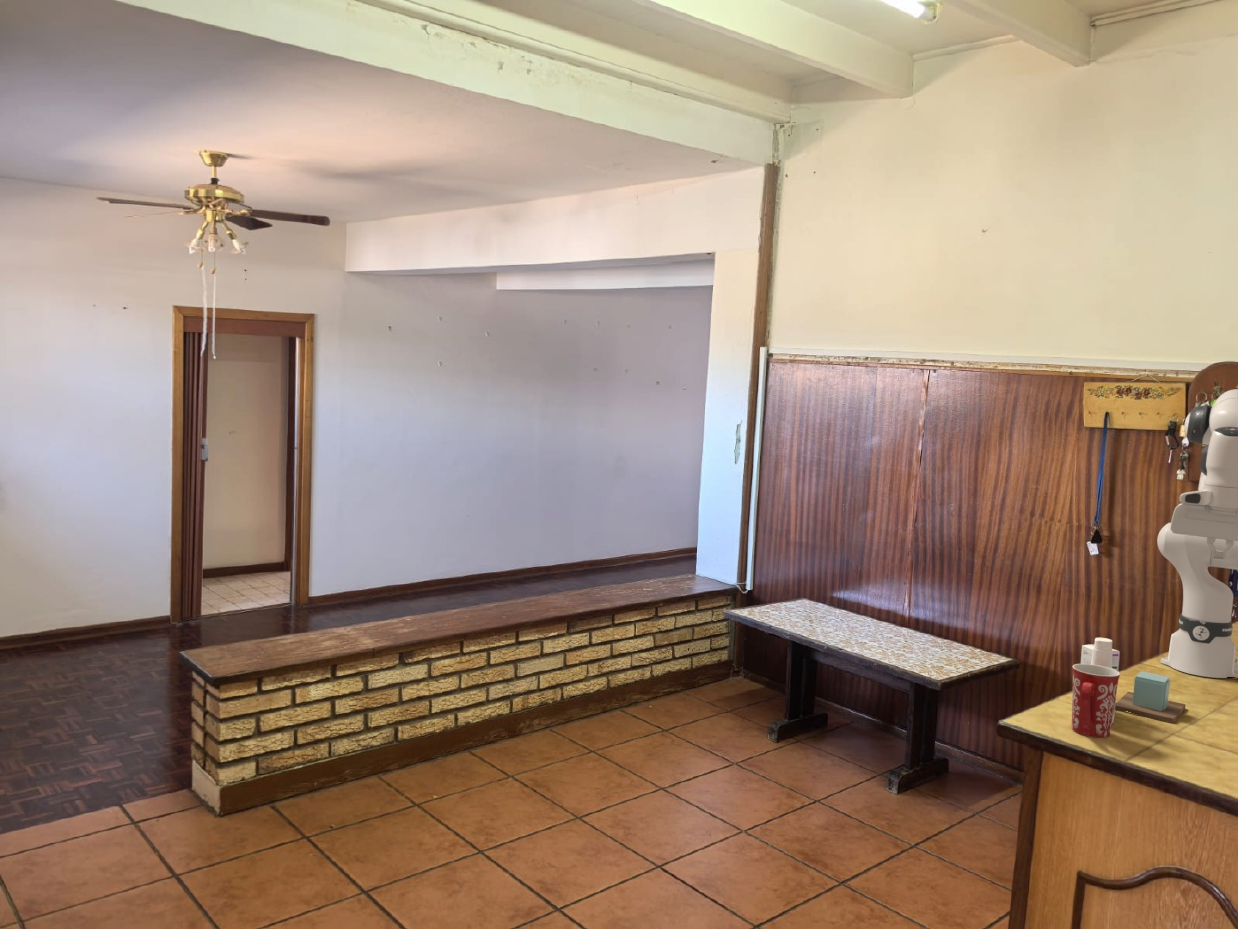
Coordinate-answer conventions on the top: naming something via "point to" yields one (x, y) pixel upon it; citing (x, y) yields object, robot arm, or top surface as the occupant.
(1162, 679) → the pale teal box
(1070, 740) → the top surface
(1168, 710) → the post board
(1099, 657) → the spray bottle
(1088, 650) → the syrup box
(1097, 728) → the mug
